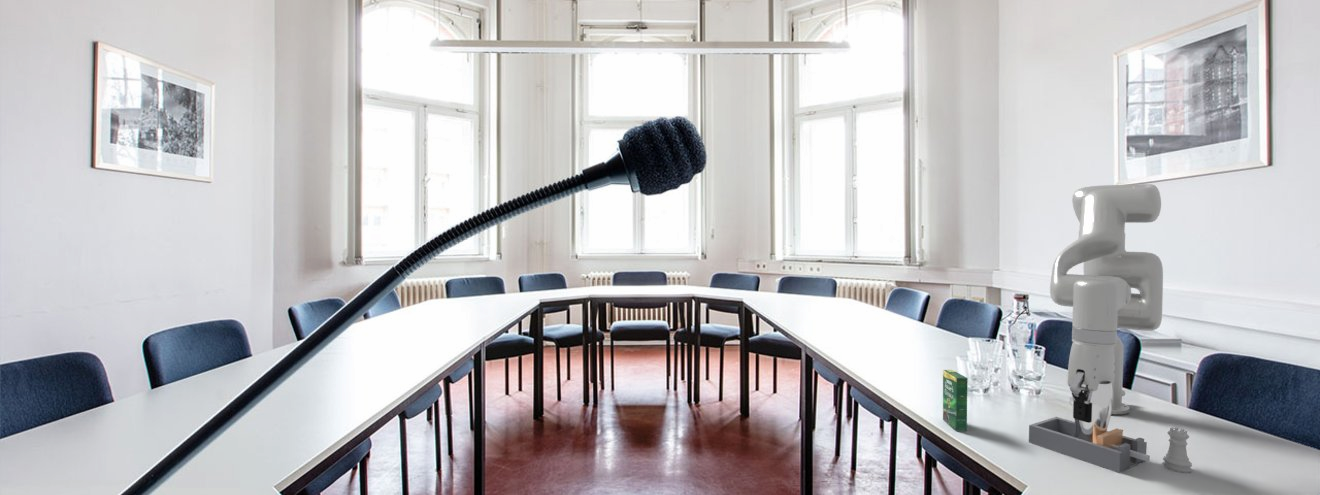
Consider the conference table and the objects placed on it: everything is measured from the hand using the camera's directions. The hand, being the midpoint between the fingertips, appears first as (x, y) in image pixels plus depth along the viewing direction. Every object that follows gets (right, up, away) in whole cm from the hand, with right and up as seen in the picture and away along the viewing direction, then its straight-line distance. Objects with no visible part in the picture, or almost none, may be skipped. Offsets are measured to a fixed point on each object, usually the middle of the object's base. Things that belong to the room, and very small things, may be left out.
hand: (1091, 416), depth 117 cm
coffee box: (-21, -8, +16) cm, 28 cm away
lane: (-1, -8, +1) cm, 8 cm away
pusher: (+3, -8, -6) cm, 10 cm away
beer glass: (0, -7, 0) cm, 7 cm away
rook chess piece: (+12, -9, -7) cm, 16 cm away
